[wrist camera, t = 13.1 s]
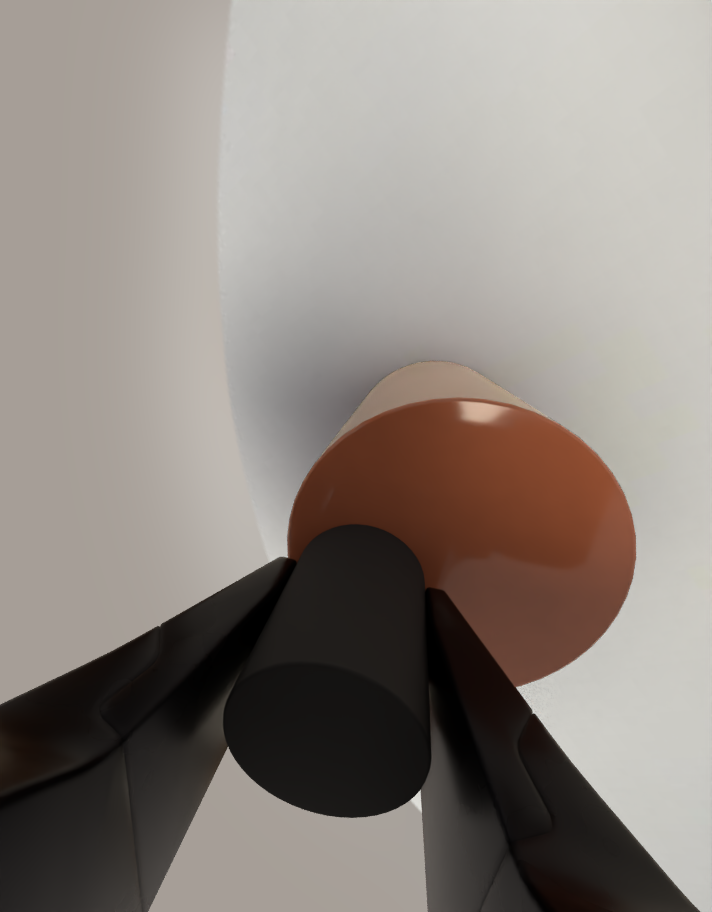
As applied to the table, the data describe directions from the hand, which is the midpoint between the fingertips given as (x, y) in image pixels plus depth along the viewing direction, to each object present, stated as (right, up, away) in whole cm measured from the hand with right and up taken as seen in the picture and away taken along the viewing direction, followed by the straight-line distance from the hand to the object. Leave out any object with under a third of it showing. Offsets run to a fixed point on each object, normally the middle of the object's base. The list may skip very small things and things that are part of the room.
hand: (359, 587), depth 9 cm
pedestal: (+4, +4, +10) cm, 12 cm away
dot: (0, 0, 0) cm, 0 cm away
